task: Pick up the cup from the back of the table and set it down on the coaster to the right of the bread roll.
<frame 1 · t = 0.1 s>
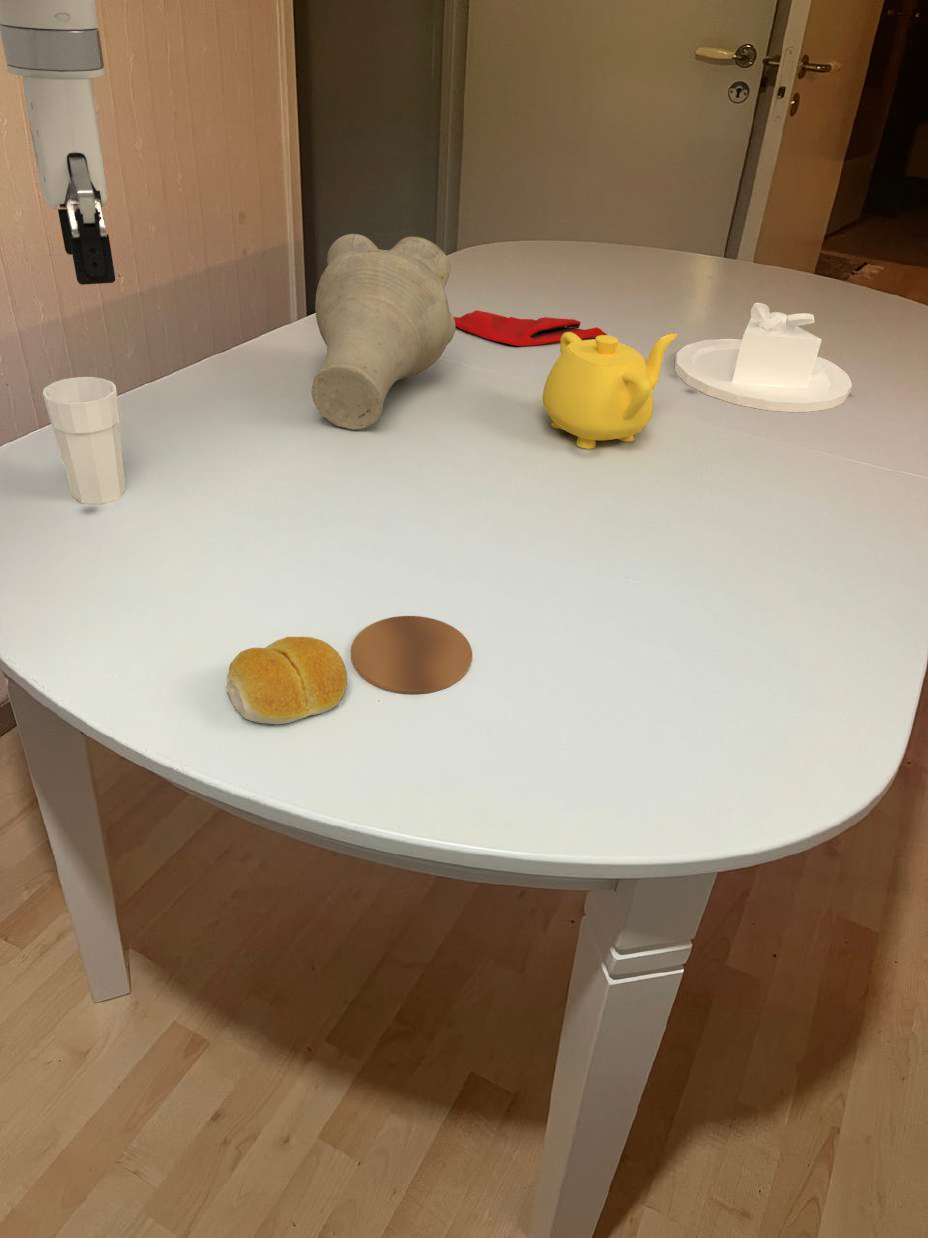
hand: (89, 267, 86), 21 cm above the table, tool pointing down, fingers open, 9 cm apart
bread roll: (286, 695, 72), on the table
teapot: (605, 430, 116), on the table
coaster: (411, 654, 76), on the table
vase: (363, 401, 118), on the table
cup: (99, 493, 95), on the table
cloth: (519, 333, 143), on the table
dish: (759, 378, 134), on the table
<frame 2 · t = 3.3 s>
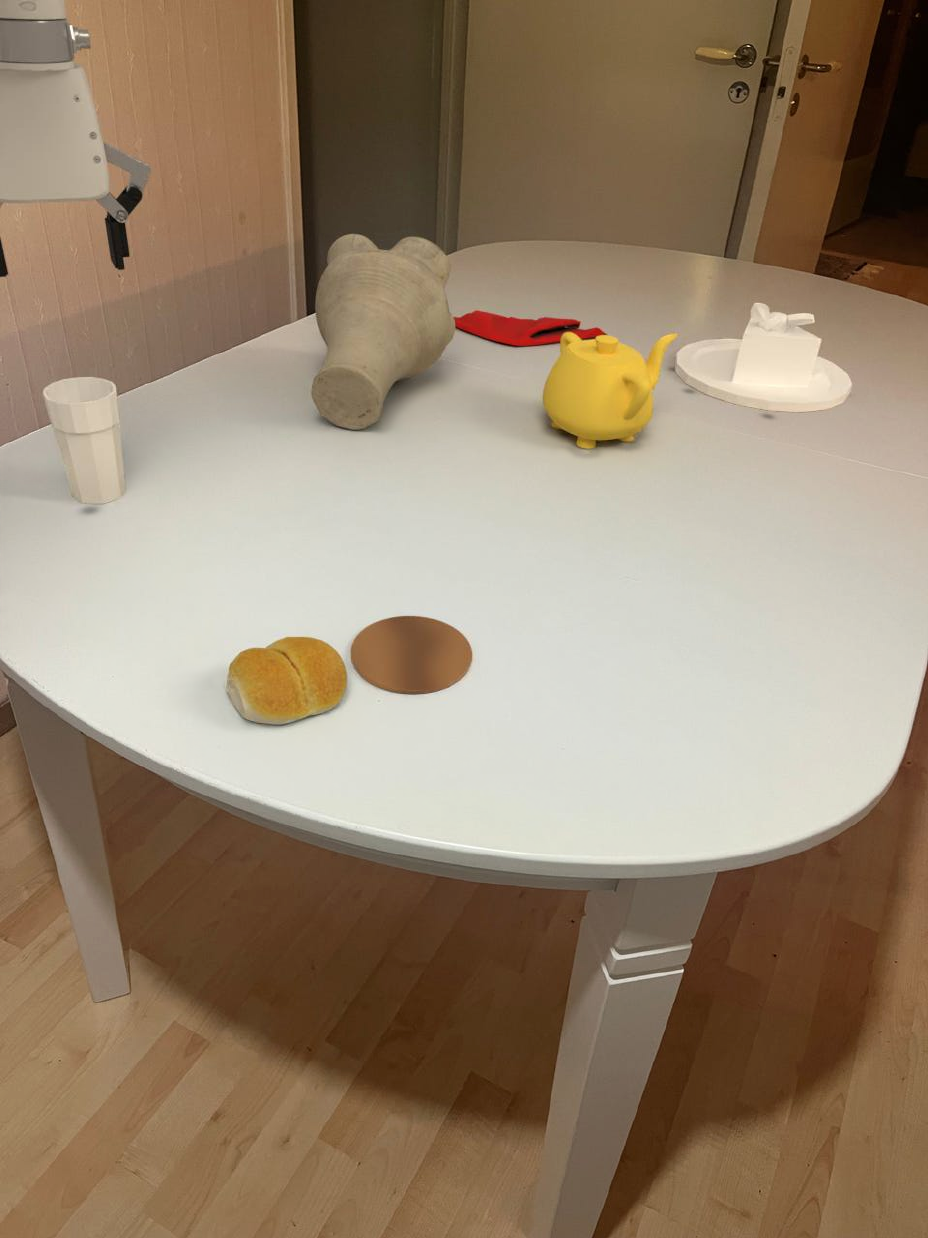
hand: (61, 268, 82), 22 cm above the table, tool pointing down, fingers open, 9 cm apart
nothing on the table moved.
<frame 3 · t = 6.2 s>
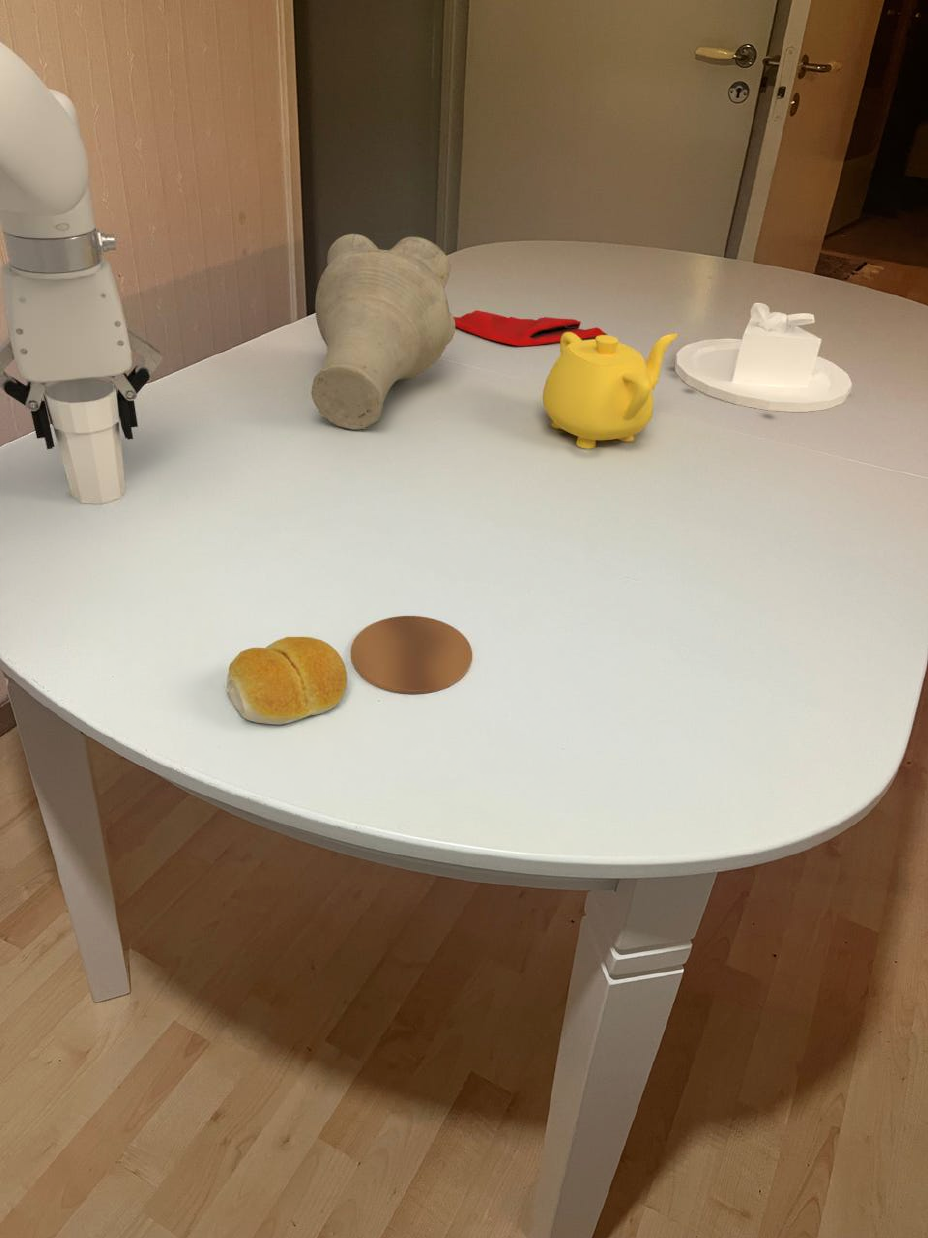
hand: (88, 437, 91), 6 cm above the table, tool pointing down, fingers closed on cup, 6 cm apart
cup: (99, 493, 95), on the table, touching gripper
everything else where it was.
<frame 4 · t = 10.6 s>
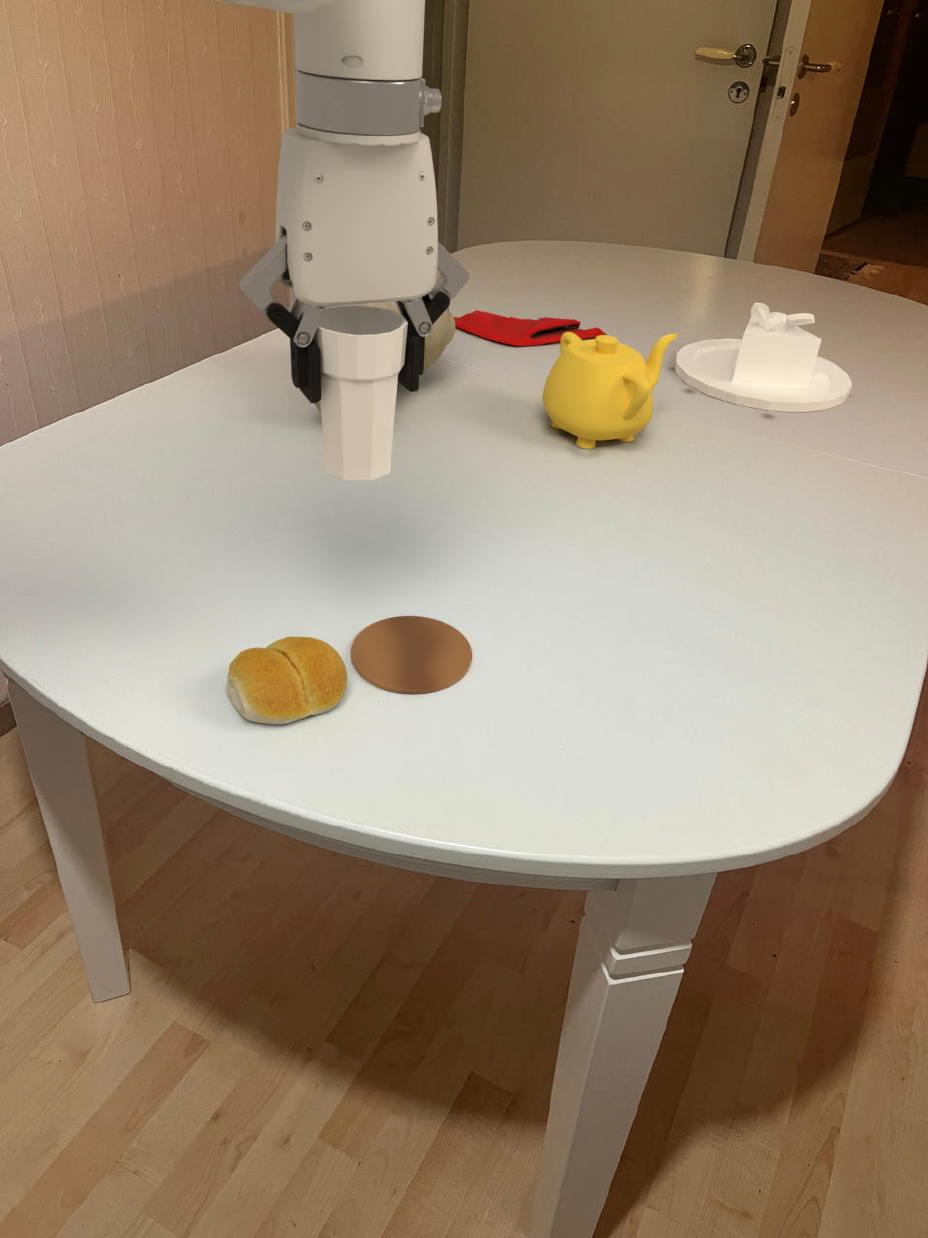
hand: (358, 388, 66), 22 cm above the table, tool pointing down, fingers closed on cup, 6 cm apart
cup: (358, 467, 70), point 15 cm above the table, touching gripper
everything else where it was.
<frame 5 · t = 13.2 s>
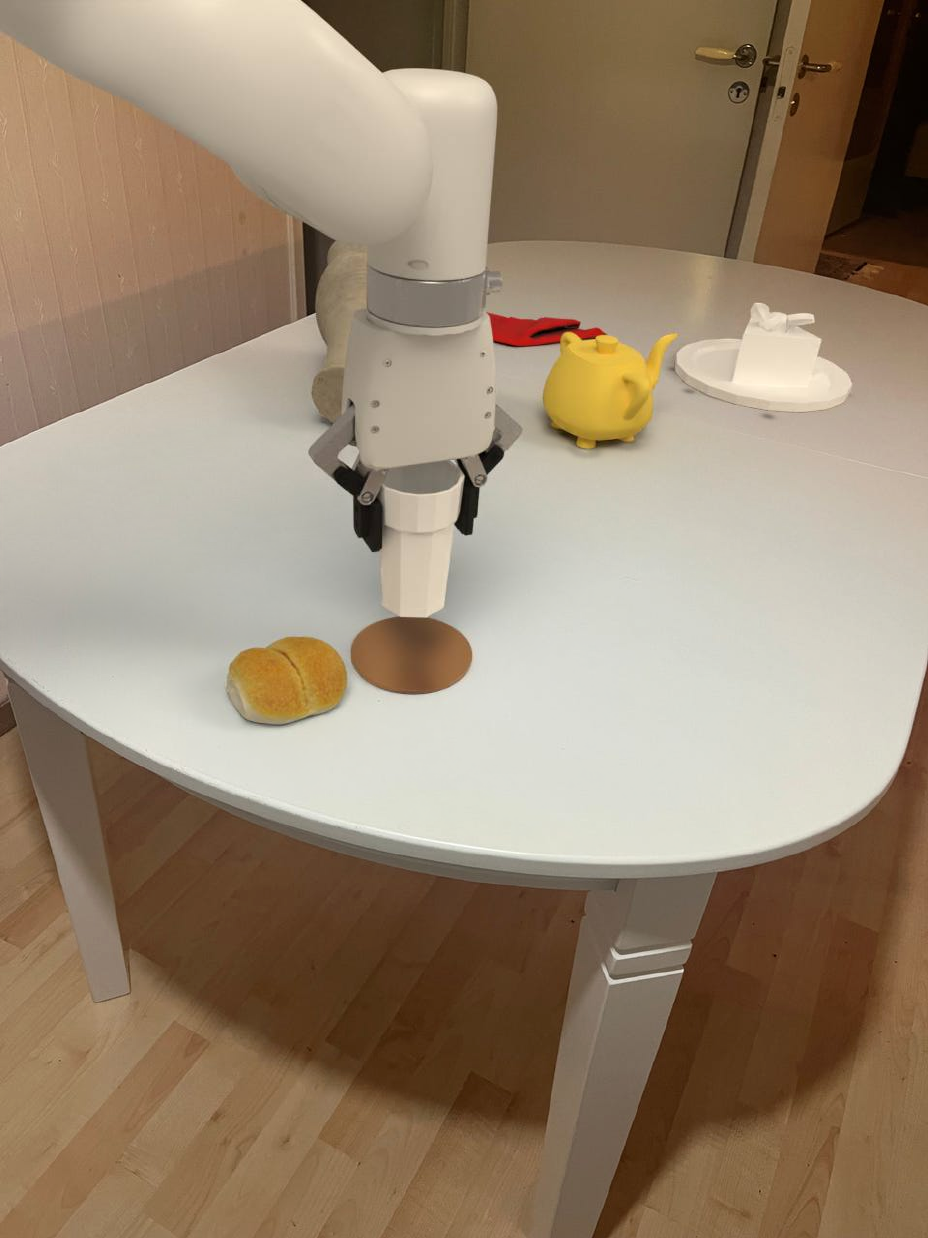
hand: (415, 532, 70), 12 cm above the table, tool pointing down, fingers closed on cup, 6 cm apart
cup: (413, 601, 73), point 5 cm above the table, touching gripper
everything else where it was.
when the fingers open (7 cm above the table, at t = 15.1 s): cup stays where it is, resting on coaster.
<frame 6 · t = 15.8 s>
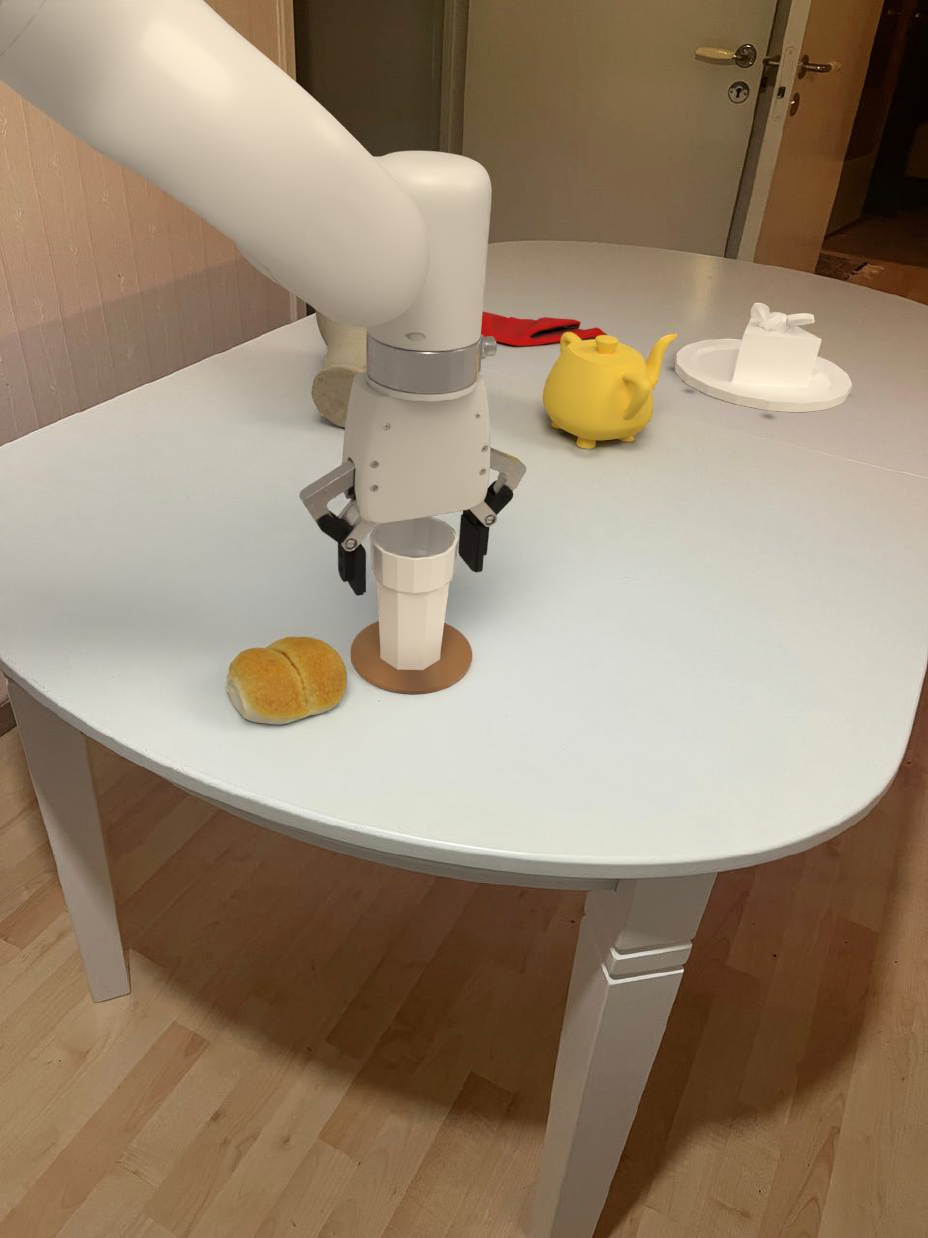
hand: (413, 574, 72), 8 cm above the table, tool pointing down, fingers open, 9 cm apart
cup: (410, 653, 76), resting on coaster
everything else where it was.
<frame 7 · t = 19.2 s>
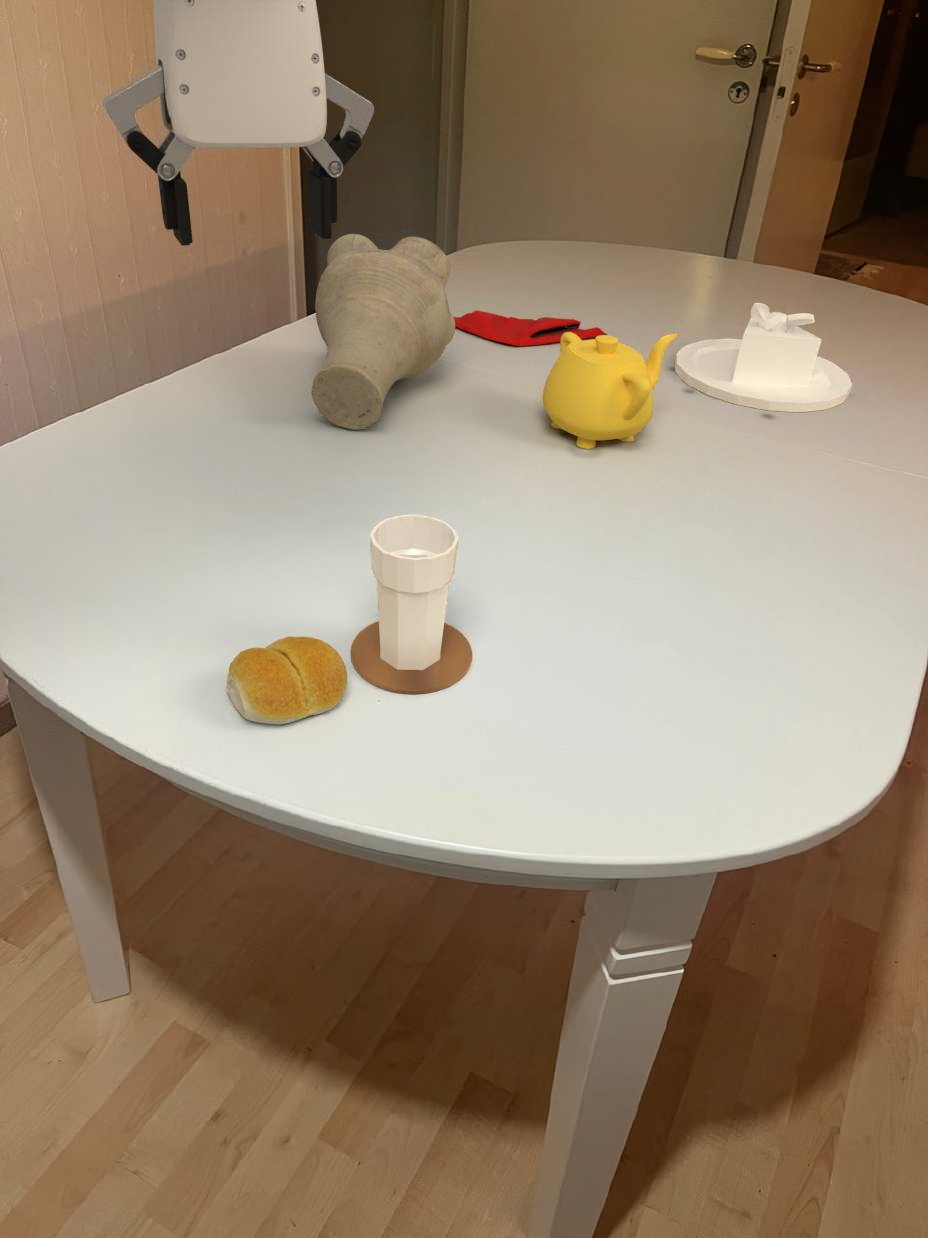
hand: (253, 237, 64), 30 cm above the table, tool pointing down, fingers open, 9 cm apart
nothing on the table moved.
at the end: cup inside the target area on the table beside the bread roll (0.3 cm from its centre), resting on coaster; cup tilted 0°; the gripper is holding nothing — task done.
